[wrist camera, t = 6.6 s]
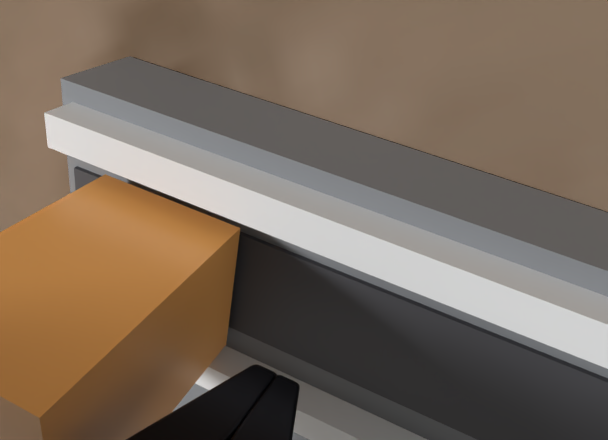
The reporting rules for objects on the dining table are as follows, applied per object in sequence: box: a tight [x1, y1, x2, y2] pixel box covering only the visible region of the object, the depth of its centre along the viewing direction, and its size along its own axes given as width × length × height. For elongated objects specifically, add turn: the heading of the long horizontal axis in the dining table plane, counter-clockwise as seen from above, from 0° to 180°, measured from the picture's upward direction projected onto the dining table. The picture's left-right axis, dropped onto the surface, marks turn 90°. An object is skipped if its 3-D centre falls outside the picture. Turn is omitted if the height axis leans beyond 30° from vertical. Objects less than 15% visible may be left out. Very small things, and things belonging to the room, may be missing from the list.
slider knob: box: [0, 174, 240, 440], centre depth 9 cm, size 3×3×5 cm
